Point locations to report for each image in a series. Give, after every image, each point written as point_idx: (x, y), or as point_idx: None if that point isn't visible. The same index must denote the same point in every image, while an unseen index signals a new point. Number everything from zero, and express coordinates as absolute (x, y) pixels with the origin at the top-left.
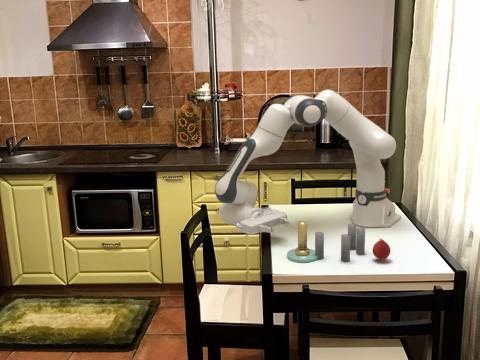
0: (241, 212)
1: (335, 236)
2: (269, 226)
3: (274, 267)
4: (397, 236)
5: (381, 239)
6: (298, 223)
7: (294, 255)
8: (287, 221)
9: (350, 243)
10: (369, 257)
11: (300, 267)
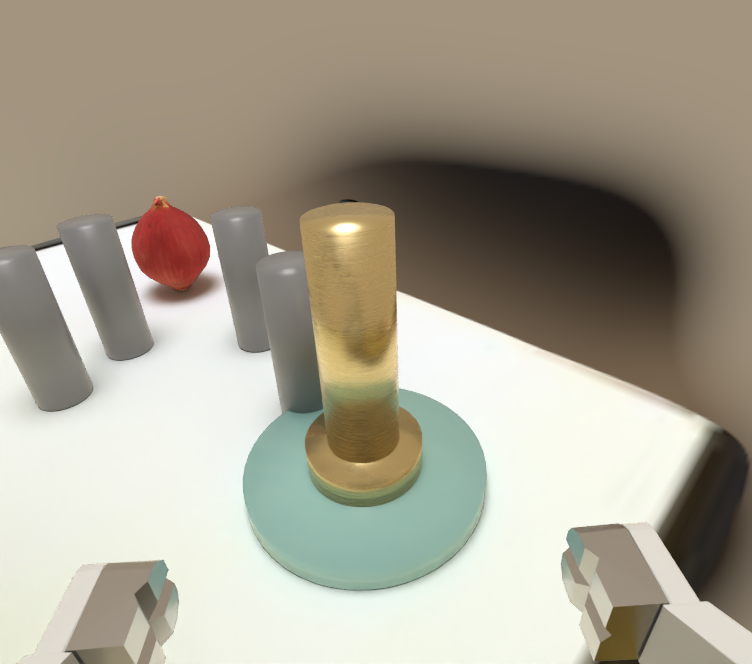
0: None
1: None
2: (611, 586)
3: (659, 475)
4: None
5: (164, 197)
6: (393, 222)
7: (438, 470)
8: (120, 574)
9: (79, 355)
10: (166, 316)
11: (498, 395)
